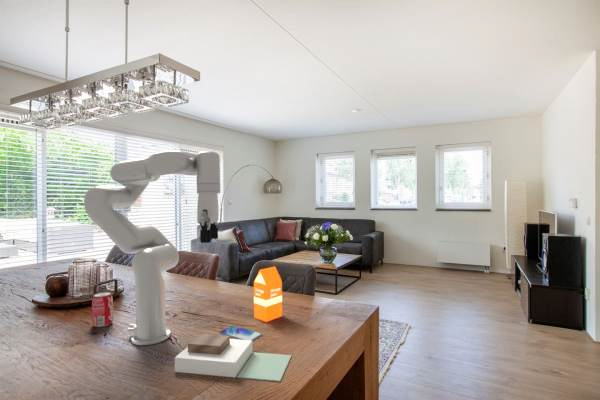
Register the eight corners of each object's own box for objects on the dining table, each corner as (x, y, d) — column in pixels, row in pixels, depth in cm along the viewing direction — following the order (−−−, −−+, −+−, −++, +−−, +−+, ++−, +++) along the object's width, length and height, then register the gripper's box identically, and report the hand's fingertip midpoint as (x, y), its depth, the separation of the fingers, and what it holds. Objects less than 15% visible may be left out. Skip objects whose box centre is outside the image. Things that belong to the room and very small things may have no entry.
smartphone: (249, 341, 109) (218, 332, 117) (249, 344, 109) (218, 334, 117) (263, 333, 115) (232, 325, 123) (263, 335, 115) (232, 327, 123)
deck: (175, 371, 91) (174, 357, 91) (199, 348, 105) (199, 336, 105) (235, 377, 87) (235, 362, 87) (252, 353, 101) (252, 340, 101)
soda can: (110, 319, 131) (110, 290, 131) (115, 324, 126) (115, 293, 126) (90, 324, 126) (89, 294, 126) (94, 329, 121) (94, 298, 121)
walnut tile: (187, 352, 94) (187, 343, 94) (199, 341, 101) (199, 333, 101) (219, 354, 92) (219, 346, 92) (229, 343, 99) (229, 335, 99)
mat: (237, 377, 87) (237, 376, 87) (254, 353, 101) (254, 352, 101) (280, 381, 85) (280, 380, 85) (291, 356, 99) (291, 355, 99)
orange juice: (253, 317, 132) (253, 268, 132) (270, 311, 138) (269, 265, 138) (266, 322, 127) (265, 271, 126) (282, 316, 133) (282, 267, 133)
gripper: (204, 190, 116) (205, 237, 116) (189, 188, 99) (190, 244, 99) (225, 189, 116) (226, 237, 116) (213, 188, 99) (214, 243, 99)
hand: (209, 240), depth 108 cm, fingers open, 9 cm apart
